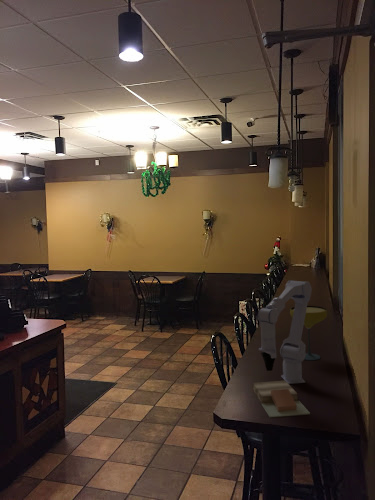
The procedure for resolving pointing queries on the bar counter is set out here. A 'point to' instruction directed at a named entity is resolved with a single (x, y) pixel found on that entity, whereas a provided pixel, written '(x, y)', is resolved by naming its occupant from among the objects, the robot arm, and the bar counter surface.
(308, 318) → the cocktail glass
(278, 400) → the terracotta tile
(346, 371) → the bar counter surface
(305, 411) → the sage mat
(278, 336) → the bar counter surface
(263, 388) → the birch deck
